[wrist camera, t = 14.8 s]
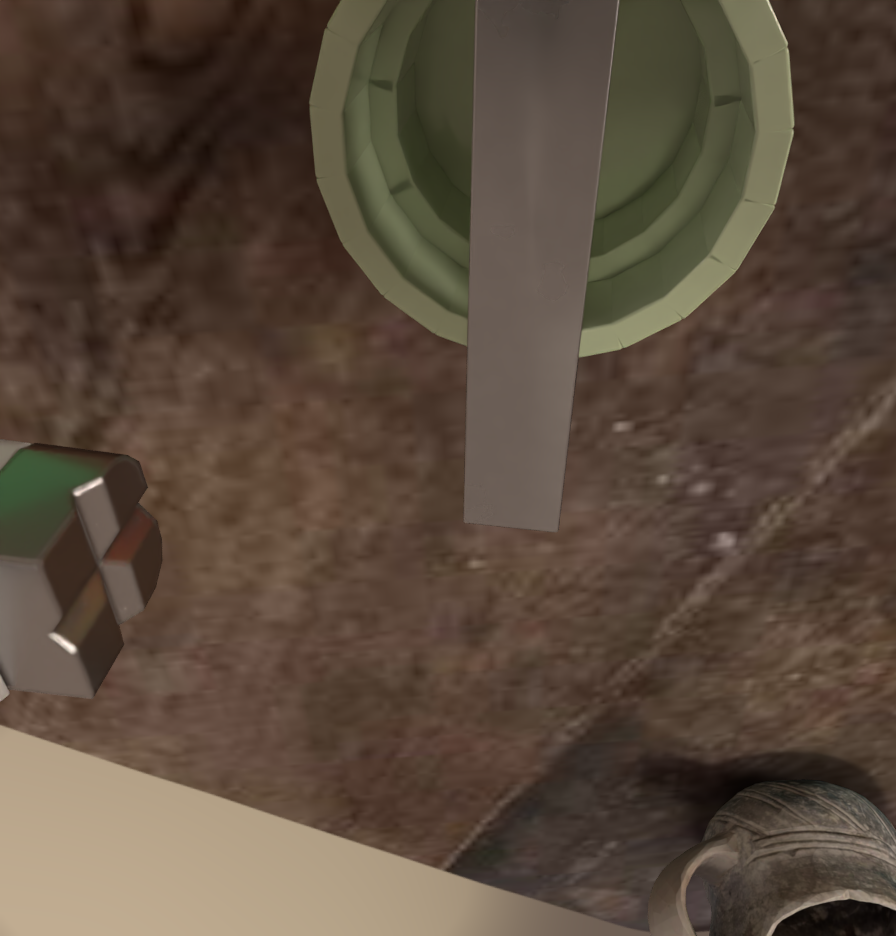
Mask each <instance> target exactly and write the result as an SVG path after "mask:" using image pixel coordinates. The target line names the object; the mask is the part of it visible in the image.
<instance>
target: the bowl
mask: <svg viewBox="0 0 896 936" xmlns="http://www.w3.org/2000/svg"><path fill="white" fill-rule="evenodd" d="M474 16H475V0H341V1H340V2H339V4H338V6H337V7H336V9H335V11H334V13H333V14H332V16H331V18H330V19H329V21H328V23H327V27H326V28H325V30H324V34H323V39H322V43H321V48H320V53H319V57H318V62H317V67H316V71H315V76H314V81H313V85H312V90H311V95H310V99H309V104H310V107H309V111H310V122H311V133H312V144H313V155H314V166H315V175H316V177H317V179H316V181H317V184H318V186H319V189H320V191H321V194H322V196H323V199H324V201H325V204H326V206H327V209H328V211H329V214H330V216H331V219H332V221H333V224H334V226H335V229H336V231H337V234H338V236H339V239H340V241H341V242H342V243H343V246H344V248H345V249H346V250H347V251H348V253H349V254H350V255H351V256H352V258H353V259H354V260H355V262H356V263H357V264H358V265H359V267H360V268H361V269H362V271H363V272H364V273H365V274H366V276H367V277H368V278H369V279H370V281H371V282H372V283H373V285H374V286H375V287H376V288H377V290H378V291H379V292H380V294H381V295H384V297H385V298H386V299H387V300H388V301H390V302H391V303H393V304H394V305H395V306H397V307H398V308H399V309H401V310H402V311H404V312H405V313H406V314H408V315H409V316H410V317H412V318H413V319H415V320H416V321H417V322H419V323H420V324H421V325H423V326H424V327H426V328H427V329H428V330H430V331H431V332H432V333H436V335H438V336H440V337H443V338H446V339H448V340H451V341H454V342H457V343H459V344H462V345H465V346H467V329H468V285H469V240H470V195H471V150H472V106H473V61H474ZM787 46H788V42H787V40H786V38H785V35H784V33H783V31H782V29H781V26H780V24H779V22H778V20H777V17H776V15H775V13H774V11H773V8H772V6H771V4H770V2H769V0H620V5H619V14H618V23H617V31H616V40H615V48H614V57H613V66H612V74H611V83H610V92H609V100H608V109H607V117H606V126H605V135H604V143H603V152H602V160H601V169H600V178H599V186H598V195H597V204H596V212H595V221H594V229H593V238H592V247H591V255H590V264H589V272H588V281H587V290H586V298H585V307H584V316H583V324H582V333H581V341H580V350H579V357H584V356H590V355H595V354H600V353H605V352H611V351H616V350H620V349H622V347H623V348H626V347H628V346H630V345H632V344H634V343H636V342H638V341H640V340H642V339H644V338H646V337H648V336H650V335H652V334H654V333H656V332H658V331H660V330H662V329H664V328H666V327H668V326H670V325H672V324H674V323H676V322H678V321H680V320H681V319H682V318H686V317H687V316H688V315H689V314H690V313H691V312H692V311H693V310H695V309H696V308H697V307H698V306H699V305H700V304H701V303H702V302H703V301H704V300H705V299H707V298H708V297H709V296H710V295H711V294H712V293H713V292H714V291H715V290H716V289H718V288H719V287H720V286H721V285H722V284H723V283H724V282H725V281H726V280H727V279H729V278H730V277H731V276H732V275H733V274H734V273H735V272H736V270H737V269H738V268H739V266H740V265H741V263H742V261H743V260H744V258H745V257H746V255H747V253H748V252H749V250H750V248H751V247H752V245H753V243H754V242H755V240H756V238H757V237H758V235H759V233H760V232H761V230H762V229H763V227H764V225H765V224H766V222H767V220H768V219H769V217H770V215H771V214H772V212H773V210H774V209H775V206H774V205H775V204H776V202H777V199H778V195H779V191H780V187H781V183H782V179H783V175H784V171H785V167H786V163H787V159H788V155H789V151H790V147H791V143H792V139H793V135H794V130H793V127H794V124H795V122H794V109H793V95H792V82H791V69H790V56H789V49H788V47H787Z"/></svg>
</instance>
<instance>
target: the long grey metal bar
mask: <svg viewBox="0 0 896 936" xmlns="http://www.w3.org/2000/svg"><path fill="white" fill-rule="evenodd" d="M619 5H620V0H475V16H474V61H473V106H472V150H471V195H470V240H469V285H468V329H467V374H466V419H465V463H464V508H463V521H464V522H465V523H471V524H480V525H490V526H499V527H509V528H519V529H528V530H538V531H547V532H558V530H559V522H560V514H561V505H562V497H563V488H564V479H565V471H566V462H567V453H568V445H569V436H570V428H571V419H572V410H573V402H574V393H575V385H576V376H577V367H578V359H579V350H580V341H581V333H582V324H583V316H584V307H585V298H586V290H587V281H588V272H589V264H590V255H591V247H592V238H593V229H594V221H595V212H596V204H597V195H598V186H599V178H600V169H601V160H602V152H603V143H604V135H605V126H606V117H607V109H608V100H609V92H610V83H611V74H612V66H613V57H614V48H615V40H616V31H617V23H618V14H619Z"/></svg>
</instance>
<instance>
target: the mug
mask: <svg viewBox="0 0 896 936" xmlns="http://www.w3.org/2000/svg"><path fill="white" fill-rule="evenodd" d="M693 874H694V875H697V876H699V877H701V878H702V879H703V883H704V887H705V890H706V896H707V899H708V901H709V903H710V905H711V912H712V917H711V925H710V933H709V936H896V830H895V829H894V827H893V826H892V824H891V823H890V821H889V820H888V819H887V817H886V816H885V815H884V814H883V813H882V812H881V811H880V810H879V809H878V808H877V807H876V806H875V805H873V804H872V803H871V802H870V801H868V800H867V799H866V798H865V797H864V796H862V795H859V794H858V793H856V792H854V791H852V790H850V789H847V788H844V787H841V786H838V785H835V784H831V783H828V782H824V781H818V780H805V779H804V780H777V781H766V782H761V783H758V784H754V785H752V786H750V787H747V788H745V789H743V790H742V791H740V792H738V793H737V794H736V795H735V796H734V797H733V798H731V799H730V800H729V801H728V802H727V803H726V804H724V805H723V806H722V807H721V808H720V809H719V810H718V811H717V812H716V814H715V816H714V817H713V818H712V819H711V820H710V822H709V823H708V826H707V829H706V831H705V834H704V837H703V839H702V842H701V843H699V844H697V845H696V846H694V847H692V848H690V849H689V850H687V851H686V852H684V853H683V854H681V855H680V856H679V857H677V858H676V859H674V860H673V861H672V862H671V863H670V864H668V865H667V866H666V867H665V868H664V870H663V871H662V872H661V873H660V875H659V876H658V878H657V879H656V881H655V883H654V885H653V888H652V892H651V895H650V899H649V903H648V921H649V928H650V934H651V936H697V935H696V933H695V931H694V929H693V927H692V925H691V922H690V919H689V916H688V913H687V908H686V886H687V885H688V883H689V881H690V878H691V876H692V875H693Z"/></svg>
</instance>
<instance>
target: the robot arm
mask: <svg viewBox="0 0 896 936" xmlns="http://www.w3.org/2000/svg"><path fill="white" fill-rule="evenodd" d="M147 488H148V486H147V483H146V480H145V477H144V474H143V471H142V468H141V465H140V462H139V461H137V460H136V459H134V458H132V457H130V456H128V455H123V454H116V453H108V452H101V451H93V450H85V449H78V448H70V447H63V446H55V445H47V444H40V443H34V444H31V443H25V442H17V441H10V440H2V439H0V701H1V700H3V699H4V698H5V697H7V696H8V695H9V693H10V692H9V690H8V689H10V690H19V691H28V692H36V693H45V694H54V695H63V696H72V697H80V698H89V699H93V698H94V696H95V694H96V692H97V691H98V689H99V687H100V686H101V684H102V682H103V680H104V679H105V677H106V675H107V673H108V672H109V670H110V668H111V666H112V665H113V663H114V661H115V660H116V658H117V656H118V654H119V653H120V651H121V649H122V647H123V646H124V642H123V638H122V634H121V630H120V626H119V625H120V624H122V623H124V622H125V621H127V620H128V619H130V618H132V617H133V616H135V615H137V614H138V613H140V612H141V611H143V610H144V609H145V607H146V605H147V603H148V601H149V599H150V598H151V596H152V594H153V592H154V590H155V588H156V585H157V581H158V577H159V573H160V568H161V564H162V538H161V534H160V530H159V526H158V522H157V520H156V519H155V518H154V517H153V516H152V515H150V514H149V513H148V512H147V511H146V510H145V509H144V508H143V507H142V506H141V505H140V504H139V503H138V502H139V500H140V499H141V497H142V496H143V494H144V493H145V491H146V489H147Z"/></svg>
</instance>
